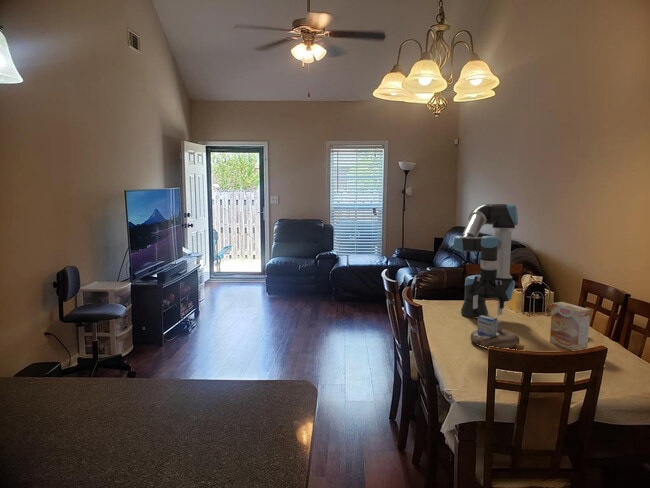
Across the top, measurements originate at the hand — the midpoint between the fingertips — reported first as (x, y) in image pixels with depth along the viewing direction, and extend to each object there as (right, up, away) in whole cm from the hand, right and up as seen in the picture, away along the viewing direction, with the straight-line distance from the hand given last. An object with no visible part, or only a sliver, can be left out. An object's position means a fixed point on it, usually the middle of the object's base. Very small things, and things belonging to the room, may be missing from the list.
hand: (487, 311), depth 217 cm
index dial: (+3, -14, -1) cm, 14 cm away
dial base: (+5, -16, -3) cm, 16 cm away
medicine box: (0, -12, +1) cm, 12 cm away
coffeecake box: (+36, -16, -5) cm, 40 cm away
